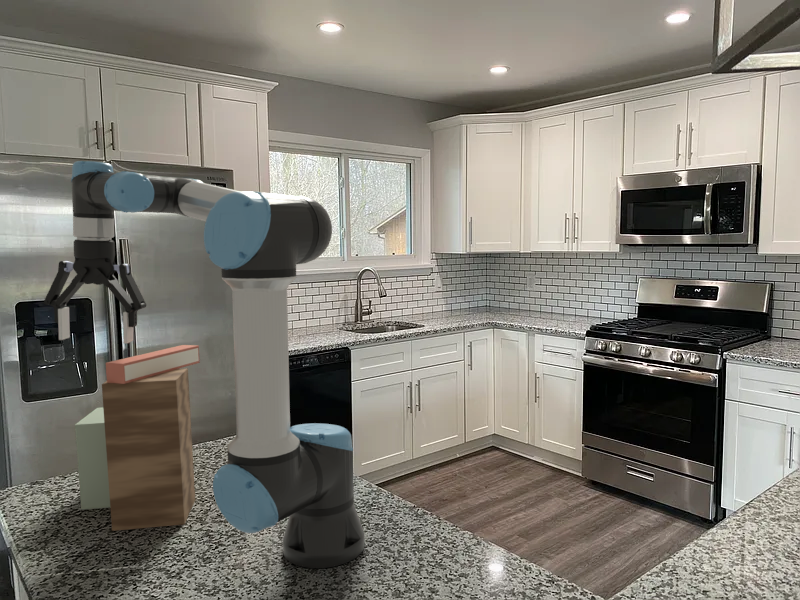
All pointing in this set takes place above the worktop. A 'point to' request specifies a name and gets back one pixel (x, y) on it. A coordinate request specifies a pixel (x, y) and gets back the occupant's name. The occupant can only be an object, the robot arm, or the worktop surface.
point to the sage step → (92, 461)
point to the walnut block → (149, 451)
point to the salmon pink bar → (151, 364)
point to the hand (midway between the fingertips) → (96, 340)
